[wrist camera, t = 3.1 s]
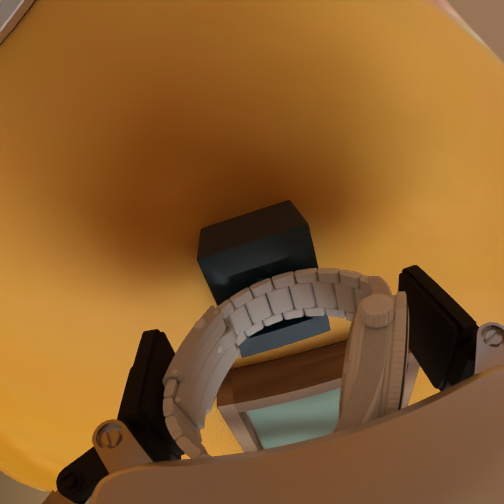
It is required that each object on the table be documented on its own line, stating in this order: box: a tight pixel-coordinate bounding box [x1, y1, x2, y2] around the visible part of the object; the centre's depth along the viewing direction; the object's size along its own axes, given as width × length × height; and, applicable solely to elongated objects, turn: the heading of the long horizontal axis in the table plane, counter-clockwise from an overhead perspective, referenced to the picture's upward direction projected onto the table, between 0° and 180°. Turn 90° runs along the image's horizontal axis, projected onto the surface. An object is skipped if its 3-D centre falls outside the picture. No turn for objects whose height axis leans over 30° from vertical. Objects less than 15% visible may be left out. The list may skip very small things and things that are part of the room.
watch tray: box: [217, 340, 420, 452], centre depth 20 cm, size 16×13×3 cm
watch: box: [162, 200, 409, 459], centre depth 10 cm, size 6×8×11 cm
